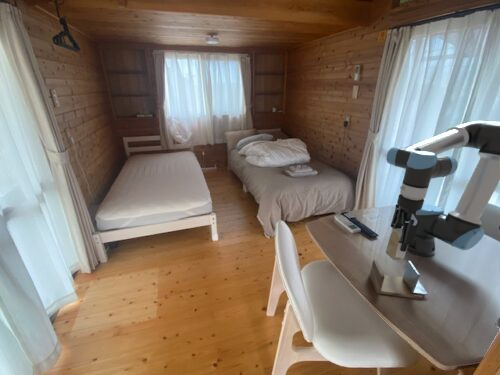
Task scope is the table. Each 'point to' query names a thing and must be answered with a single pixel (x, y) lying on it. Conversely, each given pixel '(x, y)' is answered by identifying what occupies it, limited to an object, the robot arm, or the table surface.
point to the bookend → (413, 279)
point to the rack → (390, 283)
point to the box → (394, 243)
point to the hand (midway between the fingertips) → (395, 251)
